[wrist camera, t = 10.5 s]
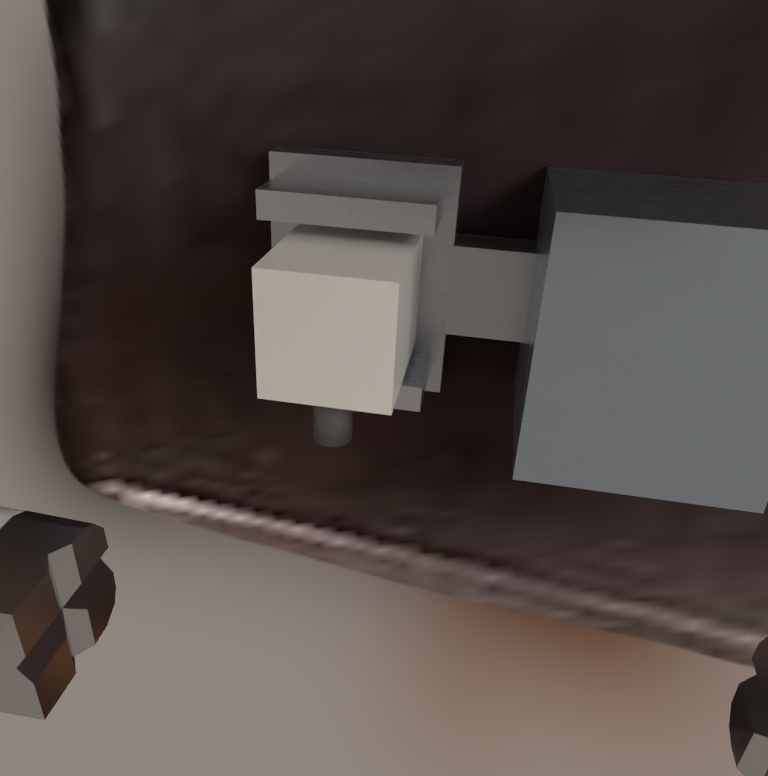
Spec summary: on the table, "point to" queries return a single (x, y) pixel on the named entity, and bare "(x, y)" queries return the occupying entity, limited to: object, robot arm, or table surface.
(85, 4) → the table surface
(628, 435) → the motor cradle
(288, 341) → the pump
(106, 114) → the table surface
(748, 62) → the table surface
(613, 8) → the table surface
